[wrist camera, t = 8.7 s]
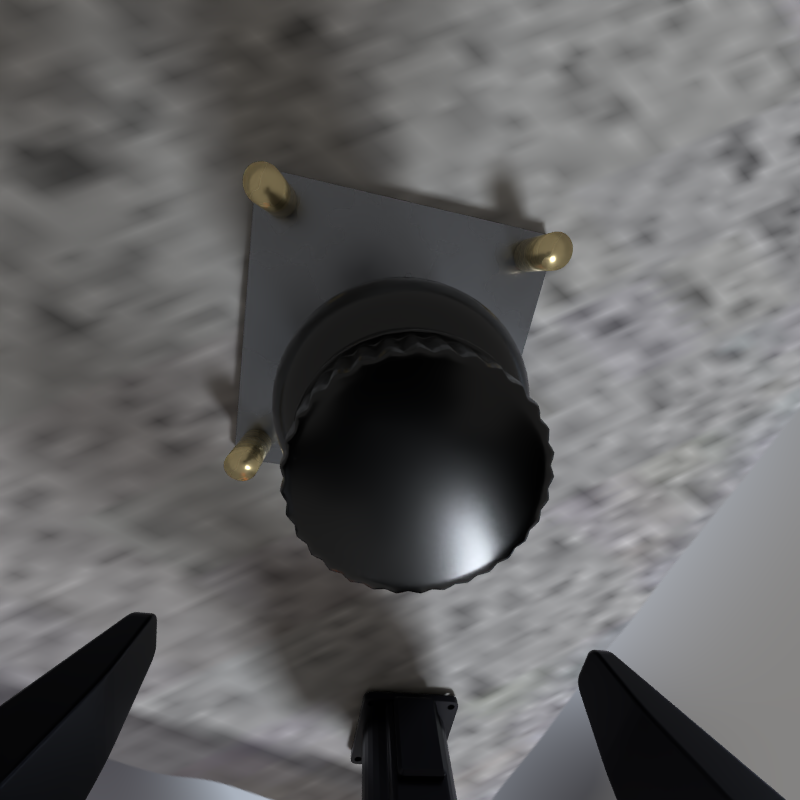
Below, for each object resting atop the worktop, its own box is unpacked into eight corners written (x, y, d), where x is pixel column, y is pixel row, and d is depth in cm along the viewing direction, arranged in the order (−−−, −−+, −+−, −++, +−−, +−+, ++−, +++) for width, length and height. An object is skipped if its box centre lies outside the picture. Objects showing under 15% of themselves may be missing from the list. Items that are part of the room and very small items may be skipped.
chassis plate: (478, 482, 21) (497, 518, 18) (239, 451, 19) (215, 483, 16) (547, 238, 18) (587, 229, 14) (261, 171, 16) (235, 144, 13)
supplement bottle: (368, 245, 16) (375, 157, 5) (488, 335, 18) (703, 428, 6) (286, 373, 18) (139, 540, 6) (404, 446, 19) (460, 685, 8)
